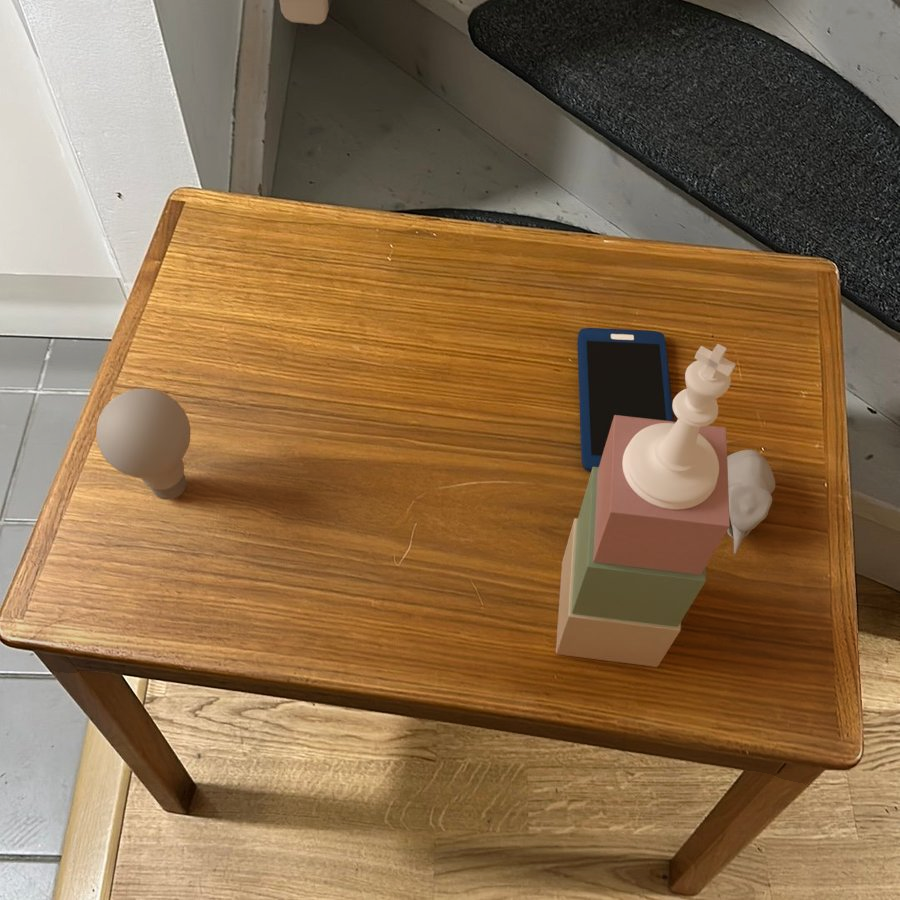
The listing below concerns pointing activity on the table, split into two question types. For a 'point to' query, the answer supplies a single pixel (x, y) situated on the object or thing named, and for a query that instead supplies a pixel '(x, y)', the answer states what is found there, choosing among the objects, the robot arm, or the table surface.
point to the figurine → (748, 492)
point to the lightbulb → (146, 439)
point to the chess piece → (681, 440)
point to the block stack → (635, 559)
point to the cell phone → (619, 383)
